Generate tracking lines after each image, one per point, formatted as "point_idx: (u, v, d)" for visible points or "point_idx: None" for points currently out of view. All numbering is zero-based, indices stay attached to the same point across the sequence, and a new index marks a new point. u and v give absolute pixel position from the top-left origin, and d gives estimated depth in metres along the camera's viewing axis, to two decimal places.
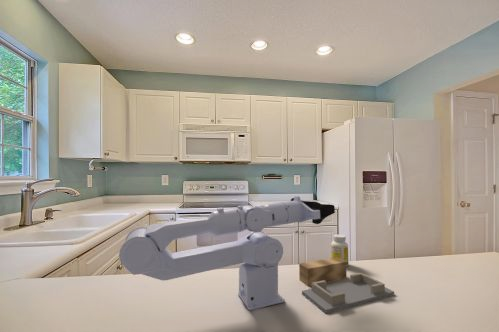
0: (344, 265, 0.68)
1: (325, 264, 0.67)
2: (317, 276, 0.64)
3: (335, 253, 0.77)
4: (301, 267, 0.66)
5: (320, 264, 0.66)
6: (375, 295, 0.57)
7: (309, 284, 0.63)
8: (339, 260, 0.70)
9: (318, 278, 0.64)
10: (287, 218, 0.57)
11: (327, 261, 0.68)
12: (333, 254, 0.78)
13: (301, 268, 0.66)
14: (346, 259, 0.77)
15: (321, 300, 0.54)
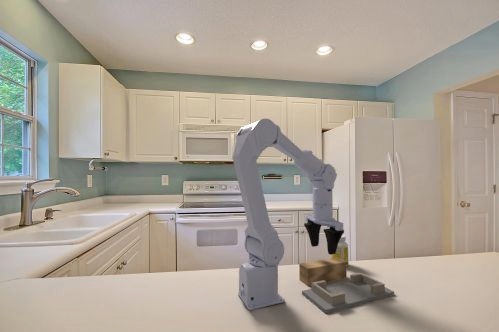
0: (344, 265, 0.68)
1: (325, 264, 0.67)
2: (317, 276, 0.64)
3: None
4: (301, 267, 0.66)
5: (320, 264, 0.66)
6: (375, 295, 0.57)
7: (309, 284, 0.63)
8: (339, 260, 0.70)
9: (318, 278, 0.64)
10: (327, 204, 0.66)
11: (327, 261, 0.68)
12: (333, 254, 0.78)
13: (301, 268, 0.66)
14: (346, 259, 0.77)
15: (321, 300, 0.54)
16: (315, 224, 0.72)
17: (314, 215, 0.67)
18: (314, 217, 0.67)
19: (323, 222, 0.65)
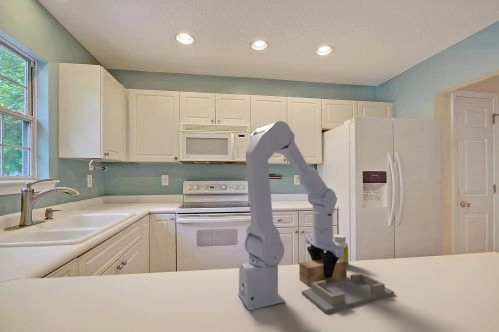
0: (344, 264, 0.68)
1: None
2: (317, 275, 0.64)
3: None
4: (301, 266, 0.66)
5: (320, 263, 0.66)
6: (375, 295, 0.57)
7: (309, 283, 0.63)
8: (339, 259, 0.70)
9: (318, 277, 0.65)
10: (327, 229, 0.65)
11: None
12: None
13: (301, 267, 0.66)
14: (346, 259, 0.77)
15: (321, 300, 0.54)
16: (318, 248, 0.70)
17: (314, 239, 0.67)
18: (314, 241, 0.67)
19: (323, 247, 0.64)
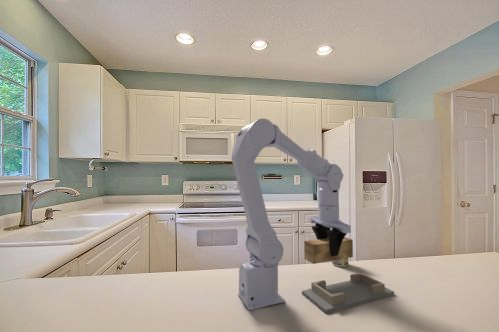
0: (350, 243, 0.66)
1: None
2: (323, 253, 0.62)
3: None
4: (306, 244, 0.64)
5: (326, 241, 0.64)
6: (375, 295, 0.57)
7: (315, 261, 0.61)
8: (345, 238, 0.68)
9: (324, 255, 0.62)
10: (332, 205, 0.63)
11: None
12: None
13: (306, 245, 0.64)
14: (346, 259, 0.77)
15: (321, 300, 0.54)
16: (324, 227, 0.68)
17: (320, 217, 0.65)
18: (320, 219, 0.65)
19: (329, 224, 0.62)
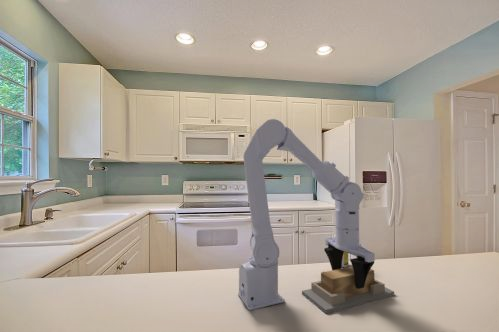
0: (372, 274, 0.59)
1: (351, 273, 0.58)
2: (342, 288, 0.56)
3: None
4: (323, 276, 0.57)
5: (345, 273, 0.57)
6: (375, 295, 0.57)
7: None
8: None
9: (344, 289, 0.56)
10: (349, 229, 0.57)
11: (352, 270, 0.60)
12: None
13: (323, 278, 0.57)
14: (346, 259, 0.77)
15: (321, 300, 0.54)
16: (337, 250, 0.63)
17: (338, 241, 0.58)
18: (338, 243, 0.58)
19: (349, 250, 0.56)
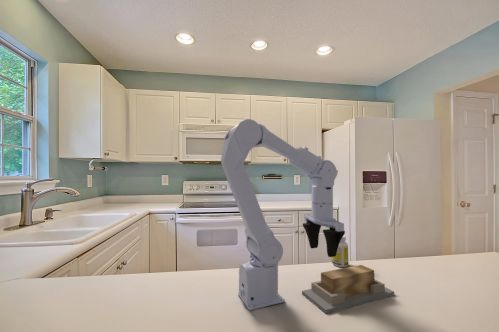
0: (372, 274, 0.59)
1: (351, 273, 0.58)
2: (342, 288, 0.56)
3: None
4: (323, 276, 0.57)
5: (345, 273, 0.57)
6: (375, 295, 0.57)
7: None
8: (365, 268, 0.61)
9: (344, 289, 0.56)
10: (325, 203, 0.61)
11: (352, 270, 0.60)
12: None
13: (323, 278, 0.57)
14: (346, 259, 0.77)
15: (321, 300, 0.54)
16: (314, 224, 0.67)
17: (313, 215, 0.63)
18: (313, 217, 0.63)
19: (322, 222, 0.60)
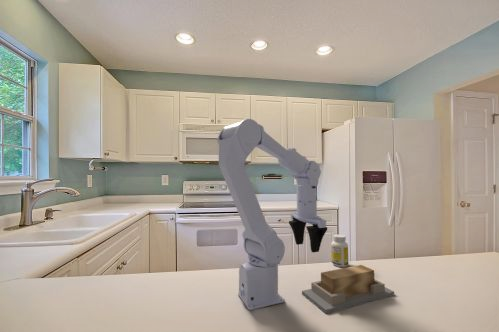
0: (372, 274, 0.59)
1: (351, 273, 0.58)
2: (342, 288, 0.56)
3: (335, 253, 0.77)
4: (323, 276, 0.57)
5: (345, 273, 0.57)
6: (375, 295, 0.57)
7: None
8: (365, 268, 0.61)
9: (344, 289, 0.56)
10: (311, 201, 0.65)
11: (352, 270, 0.60)
12: (333, 254, 0.78)
13: (323, 278, 0.57)
14: (346, 259, 0.77)
15: (321, 300, 0.54)
16: (300, 222, 0.71)
17: (298, 212, 0.67)
18: (298, 214, 0.67)
19: (306, 219, 0.64)
